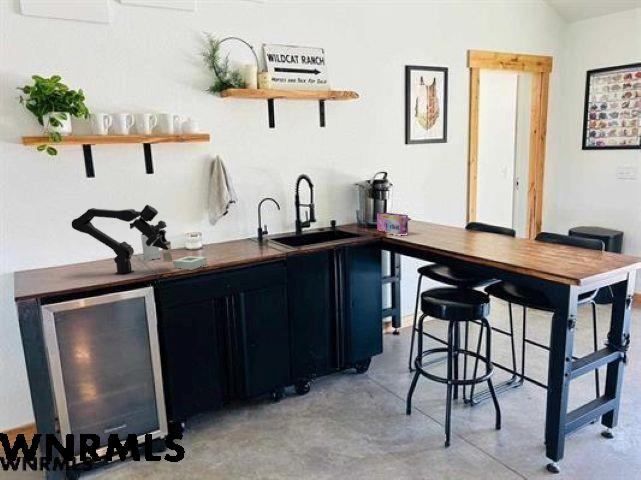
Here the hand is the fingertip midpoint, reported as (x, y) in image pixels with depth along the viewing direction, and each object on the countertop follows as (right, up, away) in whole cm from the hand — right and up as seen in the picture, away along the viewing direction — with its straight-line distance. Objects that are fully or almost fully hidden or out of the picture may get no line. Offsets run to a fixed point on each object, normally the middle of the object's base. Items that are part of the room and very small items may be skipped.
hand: (169, 248), depth 248 cm
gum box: (+126, +8, +83) cm, 151 cm away
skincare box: (-20, -7, +32) cm, 39 cm away
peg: (-1, -7, +1) cm, 7 cm away
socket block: (+8, -10, +10) cm, 16 cm away
